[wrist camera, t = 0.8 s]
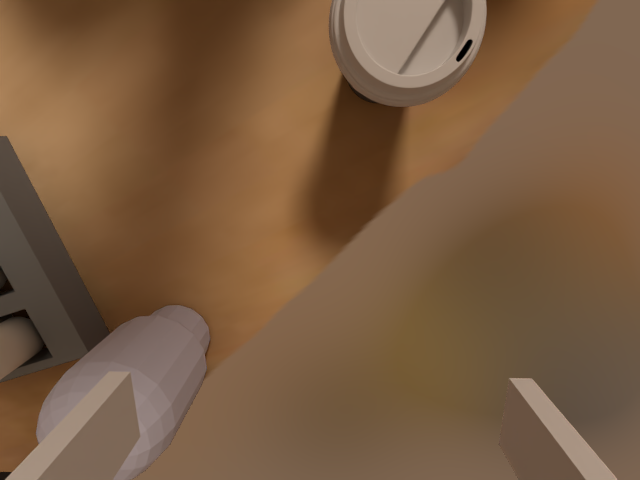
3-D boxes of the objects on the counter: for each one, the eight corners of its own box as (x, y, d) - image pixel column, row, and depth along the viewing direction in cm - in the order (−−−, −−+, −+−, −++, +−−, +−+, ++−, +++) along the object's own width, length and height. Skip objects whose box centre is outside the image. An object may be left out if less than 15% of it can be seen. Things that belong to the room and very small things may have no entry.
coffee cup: (364, 139, 37) (387, 136, 22) (309, 54, 35) (295, -10, 20) (448, 80, 35) (530, 35, 21) (395, -13, 33) (445, -133, 19)
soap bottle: (154, 378, 45) (-38, 636, 21) (122, 302, 42) (-136, 500, 19) (234, 361, 44) (124, 610, 20) (206, 282, 41) (45, 464, 18)
